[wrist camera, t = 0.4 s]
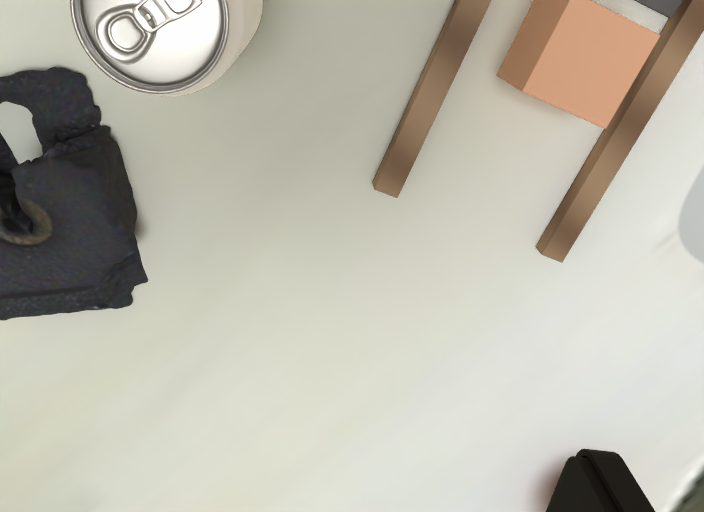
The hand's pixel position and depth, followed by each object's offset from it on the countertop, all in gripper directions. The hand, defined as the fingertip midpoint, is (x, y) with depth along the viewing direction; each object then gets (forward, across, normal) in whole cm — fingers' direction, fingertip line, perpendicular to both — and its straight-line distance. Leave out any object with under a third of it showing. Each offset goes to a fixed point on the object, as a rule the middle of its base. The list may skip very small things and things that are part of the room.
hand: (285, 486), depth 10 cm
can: (+29, +6, -5) cm, 30 cm away
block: (+29, -14, -6) cm, 32 cm away
